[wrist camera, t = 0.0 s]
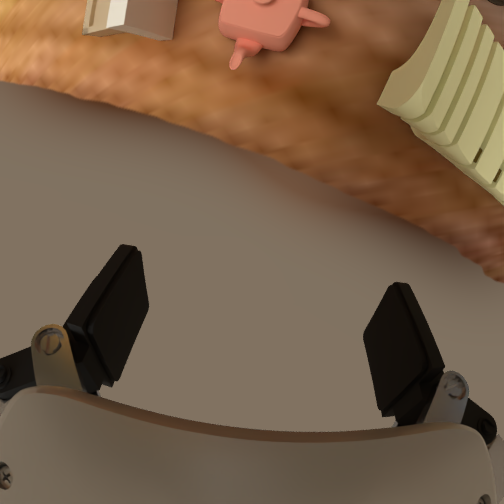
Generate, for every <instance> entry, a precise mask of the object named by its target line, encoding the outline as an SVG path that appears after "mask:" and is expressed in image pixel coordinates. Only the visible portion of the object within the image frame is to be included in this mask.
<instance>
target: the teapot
mask: <svg viewBox="0 0 504 504" xmlns="http://www.w3.org/2000/svg"><path fill="white" fill-rule="evenodd" d="M215 1H218V2H220V3H223V4H222V7H221V11H220V15H219V30H220V32H221V34H222V35H223V36H225V37H227V38H230V39H233V40H236V43H235V47H234V50H235V51H234V53H233V55H232V57H231V60H230V65H229V66H230V69H232V70H235V69H236V68H238V67H239V65H240V64H241V63H242V61H243V59H244V58H245V57H251V56H254V55H256V54H257V53H258V52H259V51H260V50H261V49H262V48H264V49H268V50H273V51H278V52H281V51H284V50H285V49H286V48H287V47H288V46H289V45H290V44H291V42H292V41H293V39H294V38H295V36H296V35H297V33H298V31H299V29H300V27H301V26H308V27H318V28H323V27H327V26H329V25H330V19H329V18H328V17H327V16H325V15H324V14H322V13H319V12H317V11H314V10H311V9H308V8H307V7H308V2H309V0H215Z"/></svg>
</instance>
